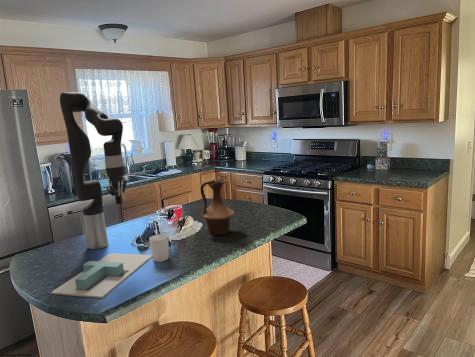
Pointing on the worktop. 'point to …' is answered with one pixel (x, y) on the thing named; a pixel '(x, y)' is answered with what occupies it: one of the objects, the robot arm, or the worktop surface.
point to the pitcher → (216, 209)
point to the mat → (107, 282)
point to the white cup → (159, 247)
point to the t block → (97, 273)
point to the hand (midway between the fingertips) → (119, 203)
